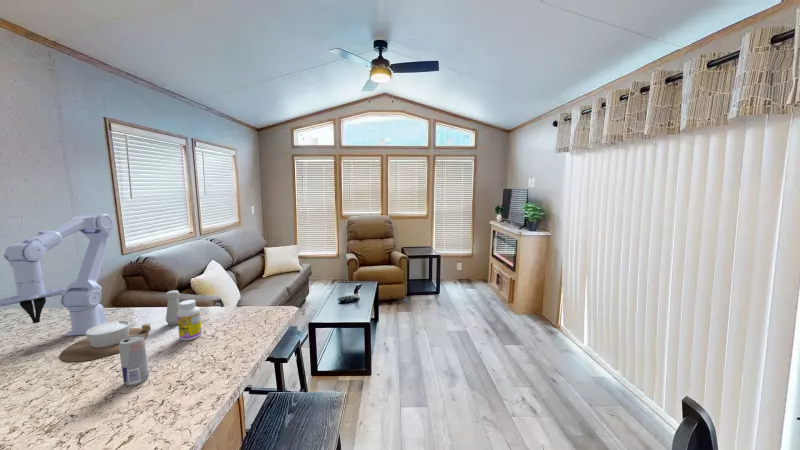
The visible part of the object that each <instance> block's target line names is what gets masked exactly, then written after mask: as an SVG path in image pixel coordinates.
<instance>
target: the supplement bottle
mask: <svg viewBox="0 0 800 450" xmlns="http://www.w3.org/2000/svg"><path fill="white" fill-rule="evenodd" d="M179 302H180V304H179V305H180V308H181V309H180V310H179V311H178V312H177V318H178V325H177V326H178V336H179V339H180V340H181V341H185V342H186V341H192V340H195V339H197V338H199V337H201V336H202V333H203V332H202V321H201V311H200V310H201V309H200V308H199V307H198V306H197V305H196V300H195V299H186V300H183V301H179Z"/></svg>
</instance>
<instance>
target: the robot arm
mask: <svg viewBox="0 0 800 450" xmlns="http://www.w3.org/2000/svg"><path fill="white" fill-rule="evenodd" d="M114 222H115V221H114V220H113V219H112V217H111V215H109V214H107V213H91V214H89V213H86V214H84V213H79V214H77V215H76V216H72V217H71V219H70V220H69V221H67V222H65V223H63V224H61V225H60V226H59V227H57V228H55V229H54V230H49V229H45V230H43V229H41V230H40V231H38V234H36V235H33V236H32V237H30V238H25V239H24V240H23V241H22V242H21V243H20V242H19V243H13V244H11V245H9V246H8V247H7V248H6V249H5V252H4V254H3V258H4V260H6V261H7V262H8V263H9V266H10V267H11V268H12V273H13V278H14V283H15V289H16V295H14V296H10V297H6V298H2V299H0V308H2V307H5V306H11V305H16V304H19V306H20V307H21V309H23V310H24V311H25V312H26V314H27V315H29V318H30V319H31V321H32V324H33V325H34V324H37V323H41V315H42V311H43V308H44V306H45V304H46V302H47V300H46V299H47V298H52V297H57V296H60V297H61V298H60V304H61V306H62V307H64V308H66V311H68V312H69V319H70V325H71V331H70V332H67V333H66V334H65V337H70V336H82V335H84V336H85V335H86V331H87V330H88V329H90V328H92V327H94V326H97V325H100V324H103V323H107V322H108V321H107V319H106V314H105V308H104V306H103V304H101V303H100V302H101V300H102V298H103V297H102V291H103V290H102V289H103V287H102V286H101V285H100V284H99V283H98V281H97V280H98V278H99V275H100V272H101V268H102V265H103V262H104V260H105V259H104V258H105V257H106V253H107V249H108V246H109V243H110V239H111V234H112V231H113V227H114V224H115V223H114ZM77 232H80V233H81V234H82V235H83V236H84V237H85V238H88V240H89V243H88V246H87V248H86V251H85V254H84V257H83V259H82V263H81V265H80V266H81V267H80V269H79V272H78V274H77V278H76V280H75V281H74V282H72V283H71V284H69V285H67V288H65V287H60V288H55V289H45V283H44V278H43V271H42V265H41V260H43V258H44V257H45V254H46V253H47V252H48V251H50V250H53V249H54V248H55V247H58V246H59V245H60V244H62V242H63V239H64V238H66V237H68V236H70V235H72V234H75V233H77Z"/></svg>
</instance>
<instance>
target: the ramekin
mask: <svg viewBox="0 0 800 450" xmlns="http://www.w3.org/2000/svg"><path fill="white" fill-rule="evenodd" d="M106 322H107V323H103V324H100V325H97V326H94V327H92V328H90V329H88V330H87V331H86V334H85V337H86V338H88V340H89V342H90V345H91V346H93V347H95V348H104V347H109V346H113V345H116V344H119V342H120V341H121V340H122V339H124V338H127V337H128V336H129V328H131V321H129V320H113V321H112V320H111V321H106Z"/></svg>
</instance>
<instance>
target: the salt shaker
mask: <svg viewBox="0 0 800 450" xmlns="http://www.w3.org/2000/svg"><path fill="white" fill-rule="evenodd" d="M179 296H180V292H179V290H177V289H176V290H175V289H173V290H169V291H167V292H166V293H165V298H166V299H167V305H166V314H165V321H166V323H167V325H168V326H170V327H171V326H172V327H174V326H178V318H177V312H178V311H179V310H180V309H181V308H180V305H179V304H180V302H181V301H180V300H179Z"/></svg>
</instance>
